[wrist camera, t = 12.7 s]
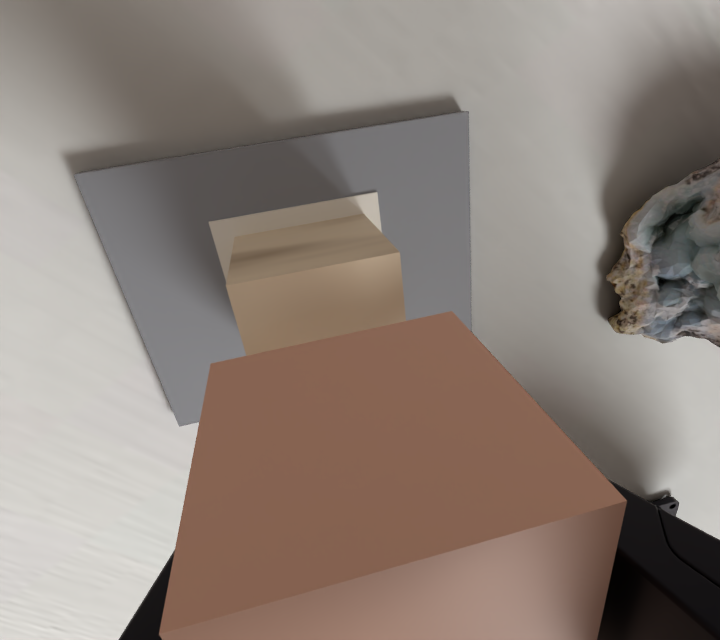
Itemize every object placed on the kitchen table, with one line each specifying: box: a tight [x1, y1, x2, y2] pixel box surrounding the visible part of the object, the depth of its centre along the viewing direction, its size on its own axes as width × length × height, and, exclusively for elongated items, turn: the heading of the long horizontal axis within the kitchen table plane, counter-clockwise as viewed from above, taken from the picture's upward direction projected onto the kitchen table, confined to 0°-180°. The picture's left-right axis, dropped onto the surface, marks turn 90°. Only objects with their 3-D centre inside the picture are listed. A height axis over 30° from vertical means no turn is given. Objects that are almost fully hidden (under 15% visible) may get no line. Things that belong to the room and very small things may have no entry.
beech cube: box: [226, 214, 406, 356], centre depth 16 cm, size 5×5×5 cm
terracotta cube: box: [159, 311, 627, 640], centre depth 8 cm, size 5×5×5 cm
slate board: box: [74, 111, 472, 426], centre depth 18 cm, size 11×14×1 cm
